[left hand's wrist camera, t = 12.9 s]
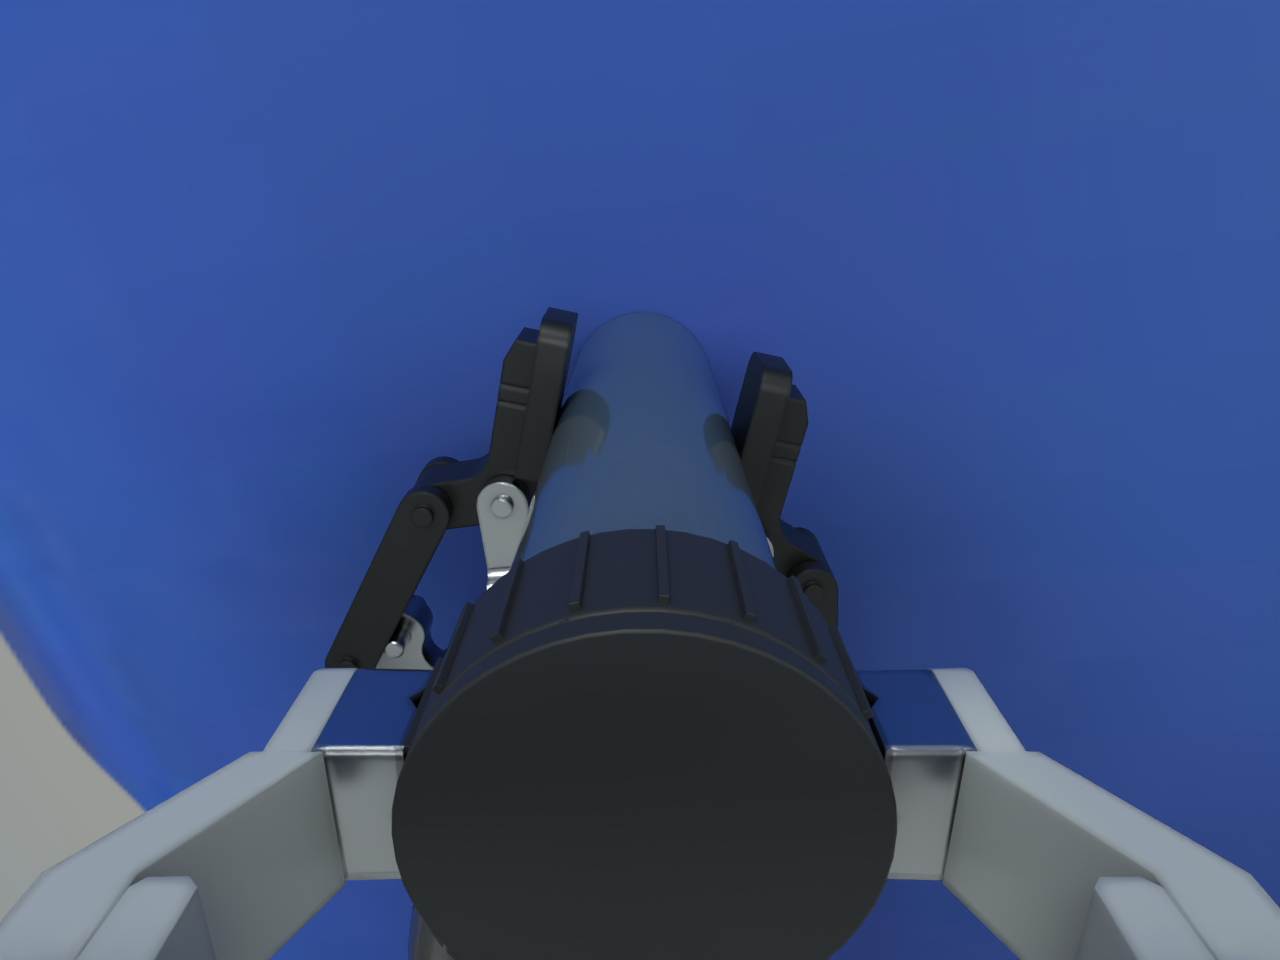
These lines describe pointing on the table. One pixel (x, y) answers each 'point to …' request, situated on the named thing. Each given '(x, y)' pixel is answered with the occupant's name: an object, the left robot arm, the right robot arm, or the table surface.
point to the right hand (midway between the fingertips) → (665, 341)
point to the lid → (643, 764)
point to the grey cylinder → (642, 445)
